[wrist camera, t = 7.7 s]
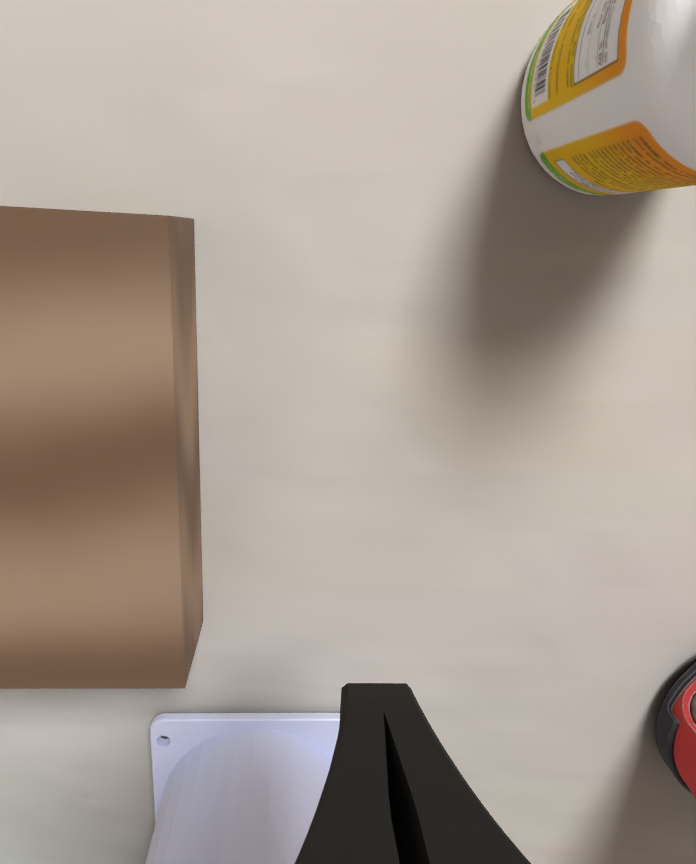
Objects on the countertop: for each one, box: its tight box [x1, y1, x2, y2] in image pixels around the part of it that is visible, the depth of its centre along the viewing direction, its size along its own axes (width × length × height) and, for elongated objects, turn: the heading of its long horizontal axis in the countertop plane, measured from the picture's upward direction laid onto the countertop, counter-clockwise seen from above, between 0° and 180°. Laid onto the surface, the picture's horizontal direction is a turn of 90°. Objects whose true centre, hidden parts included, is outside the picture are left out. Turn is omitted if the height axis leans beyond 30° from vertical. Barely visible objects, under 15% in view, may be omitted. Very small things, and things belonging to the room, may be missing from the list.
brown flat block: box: [0, 206, 203, 688], centre depth 18 cm, size 14×10×4 cm
